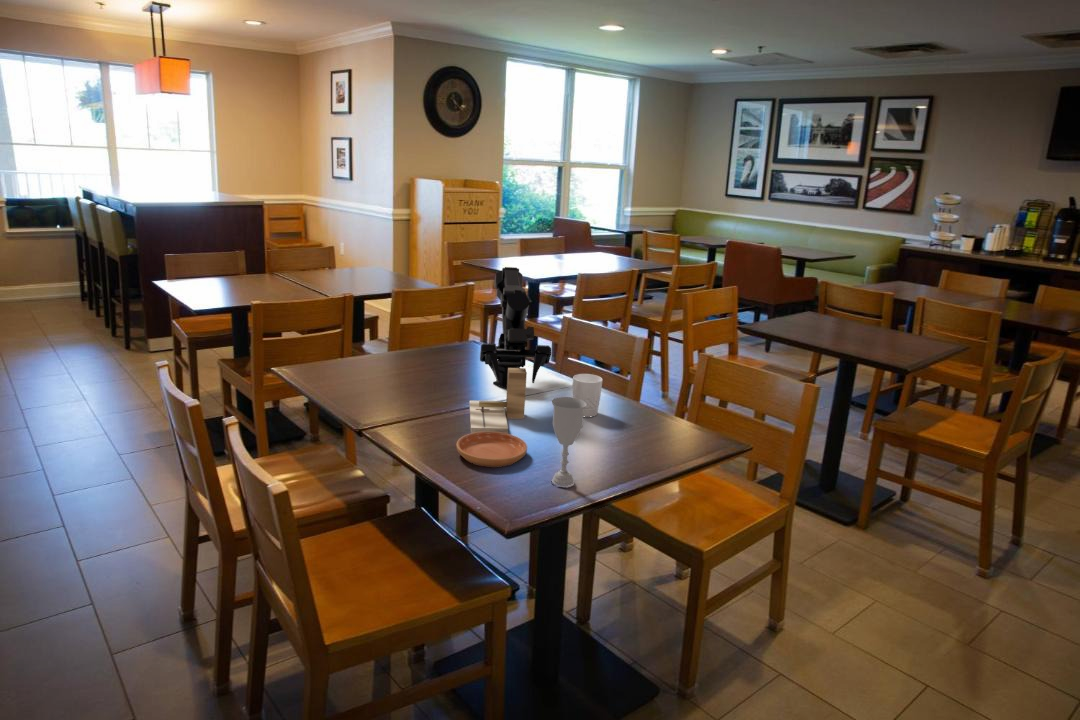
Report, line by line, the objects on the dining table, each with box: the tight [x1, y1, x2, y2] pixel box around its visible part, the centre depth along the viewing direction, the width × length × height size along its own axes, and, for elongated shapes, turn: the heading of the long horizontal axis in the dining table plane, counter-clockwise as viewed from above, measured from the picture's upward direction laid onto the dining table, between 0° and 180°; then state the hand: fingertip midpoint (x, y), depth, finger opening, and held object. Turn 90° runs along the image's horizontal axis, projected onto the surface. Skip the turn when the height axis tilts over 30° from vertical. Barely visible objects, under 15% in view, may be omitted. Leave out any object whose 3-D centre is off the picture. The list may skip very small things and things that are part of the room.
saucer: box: [456, 432, 528, 468], centre depth 163 cm, size 16×16×3 cm
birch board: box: [468, 400, 509, 434], centre depth 185 cm, size 20×9×2 cm, turn 7°
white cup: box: [572, 373, 603, 418], centre depth 193 cm, size 8×8×10 cm
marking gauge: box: [478, 367, 528, 420], centre depth 186 cm, size 4×12×12 cm, turn 97°
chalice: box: [551, 396, 587, 486], centre depth 149 cm, size 7×7×18 cm
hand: (516, 382), depth 188 cm, fingers open, 9 cm apart
